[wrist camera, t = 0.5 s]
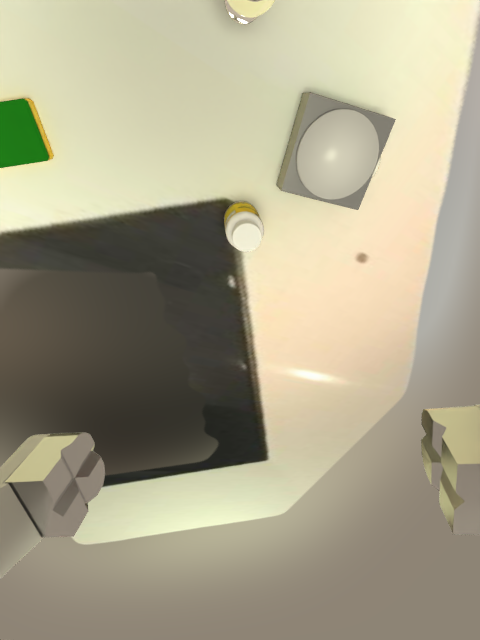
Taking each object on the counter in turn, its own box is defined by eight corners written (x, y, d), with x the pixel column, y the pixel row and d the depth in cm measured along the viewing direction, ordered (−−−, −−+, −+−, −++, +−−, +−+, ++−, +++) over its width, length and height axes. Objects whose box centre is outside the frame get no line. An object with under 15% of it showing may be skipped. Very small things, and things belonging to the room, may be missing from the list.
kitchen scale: (302, 93, 47) (312, 92, 43) (386, 119, 50) (402, 120, 45) (276, 185, 53) (282, 192, 49) (352, 204, 55) (363, 212, 51)
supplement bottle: (265, 213, 55) (275, 233, 47) (244, 241, 57) (250, 265, 49) (237, 192, 53) (242, 209, 45) (216, 222, 55) (218, 243, 47)
